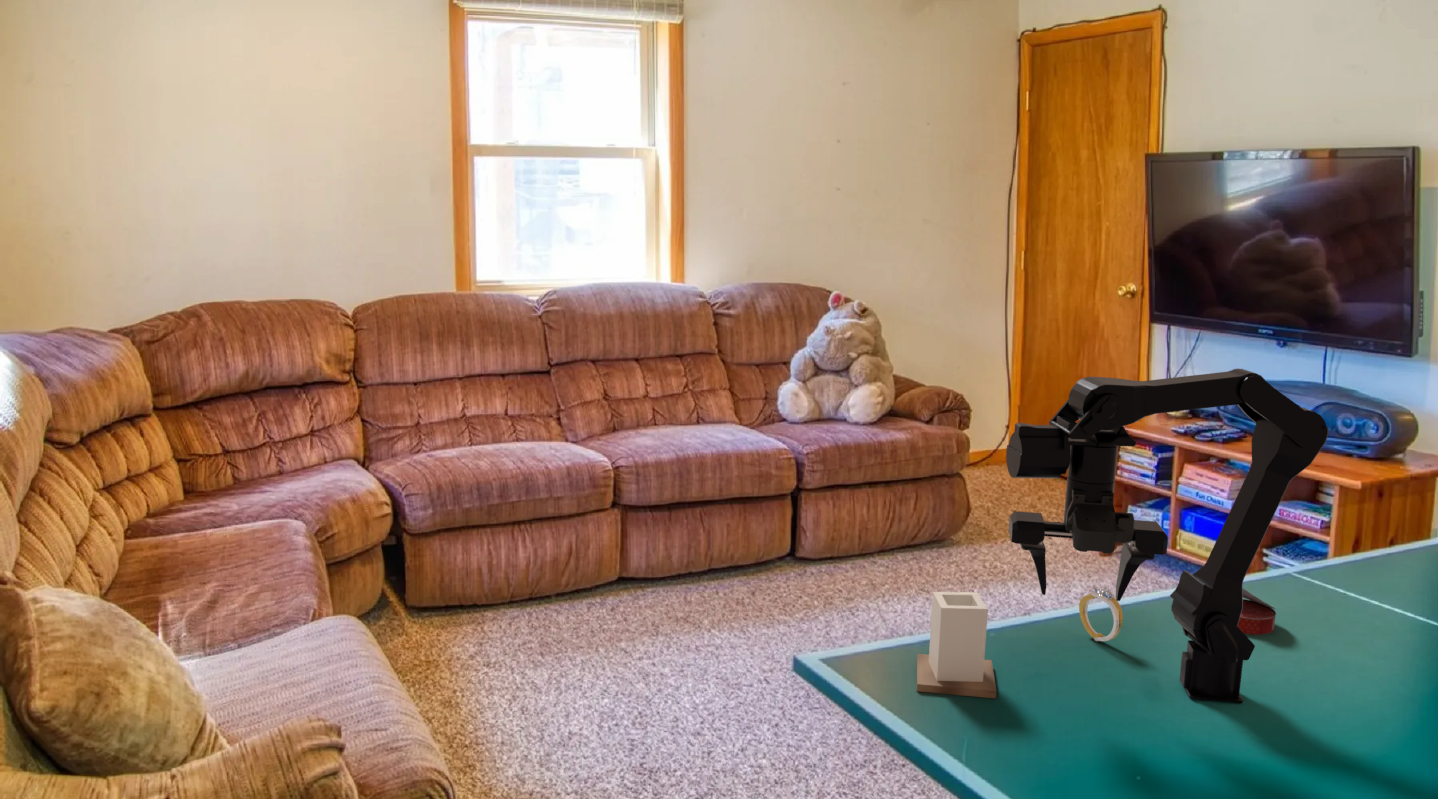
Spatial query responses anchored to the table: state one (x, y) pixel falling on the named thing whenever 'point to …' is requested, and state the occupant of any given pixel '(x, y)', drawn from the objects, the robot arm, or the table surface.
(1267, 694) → the table surface
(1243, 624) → the canned food
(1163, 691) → the table surface
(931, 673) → the post stand
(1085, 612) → the ring
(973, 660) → the sleeve
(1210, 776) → the table surface
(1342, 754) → the table surface
